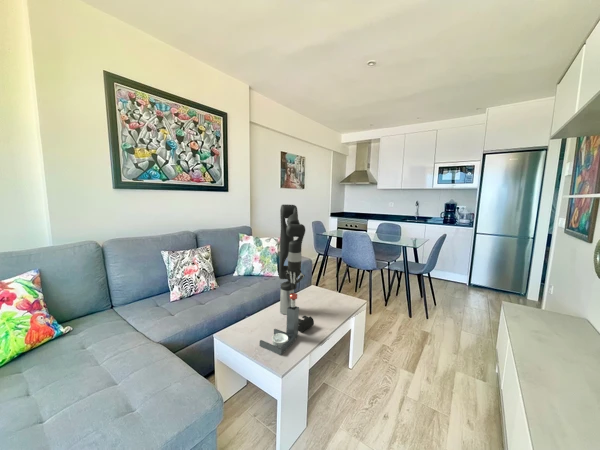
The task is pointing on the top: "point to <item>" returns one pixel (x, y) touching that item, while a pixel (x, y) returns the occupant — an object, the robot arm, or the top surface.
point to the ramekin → (279, 339)
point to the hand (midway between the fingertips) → (293, 289)
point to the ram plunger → (293, 300)
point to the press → (290, 332)
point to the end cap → (305, 323)
